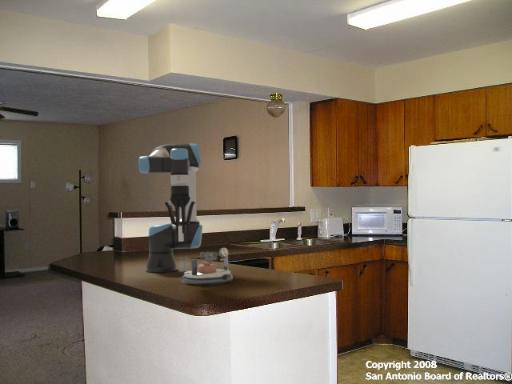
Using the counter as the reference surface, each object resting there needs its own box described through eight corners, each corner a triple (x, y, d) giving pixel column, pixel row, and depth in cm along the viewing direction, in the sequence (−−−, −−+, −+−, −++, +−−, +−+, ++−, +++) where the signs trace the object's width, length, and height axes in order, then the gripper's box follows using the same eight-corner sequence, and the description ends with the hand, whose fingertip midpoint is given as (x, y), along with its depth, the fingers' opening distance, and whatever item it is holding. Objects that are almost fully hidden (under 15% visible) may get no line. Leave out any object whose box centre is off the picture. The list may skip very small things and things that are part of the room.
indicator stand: (216, 277, 230) (216, 248, 230) (225, 275, 235) (224, 246, 235) (225, 278, 227) (224, 248, 227) (234, 276, 232) (233, 247, 232)
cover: (193, 272, 221) (193, 263, 221) (206, 270, 227) (206, 260, 227) (207, 274, 216) (207, 264, 216) (219, 271, 222) (219, 261, 222)
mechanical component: (203, 272, 248) (203, 251, 248) (218, 273, 241) (218, 252, 241) (199, 272, 245) (198, 252, 245) (214, 274, 239) (213, 253, 239)
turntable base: (171, 282, 219) (171, 278, 219) (205, 275, 237) (205, 271, 237) (210, 287, 206) (209, 282, 206) (243, 279, 224) (242, 274, 224)
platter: (174, 277, 219) (173, 258, 219) (205, 270, 235) (205, 253, 235) (213, 281, 206) (212, 261, 206) (243, 274, 222) (242, 255, 222)
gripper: (162, 185, 213) (163, 242, 212) (193, 184, 211) (194, 241, 211) (167, 185, 220) (168, 240, 220) (196, 185, 219) (198, 240, 218)
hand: (181, 241), depth 215 cm, fingers closed
